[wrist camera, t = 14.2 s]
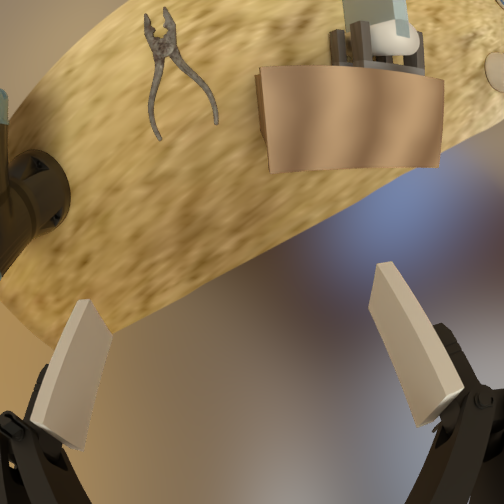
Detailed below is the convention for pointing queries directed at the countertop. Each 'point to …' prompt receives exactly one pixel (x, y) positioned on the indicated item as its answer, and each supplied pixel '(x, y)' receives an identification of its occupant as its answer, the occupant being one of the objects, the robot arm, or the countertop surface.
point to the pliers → (169, 48)
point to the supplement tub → (501, 3)
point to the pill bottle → (495, 70)
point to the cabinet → (351, 110)
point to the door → (382, 26)
